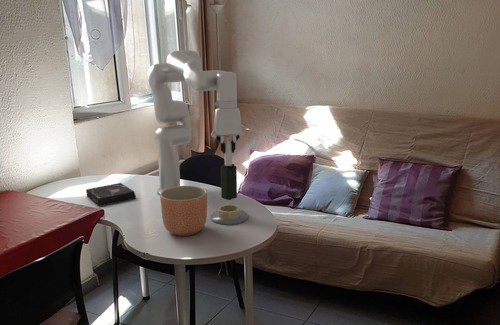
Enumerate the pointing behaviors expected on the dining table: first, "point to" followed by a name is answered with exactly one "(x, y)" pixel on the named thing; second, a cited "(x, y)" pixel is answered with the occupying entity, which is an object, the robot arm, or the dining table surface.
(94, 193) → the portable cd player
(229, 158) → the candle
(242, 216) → the candle holder
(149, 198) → the dining table surface
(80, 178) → the dining table surface
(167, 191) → the planter
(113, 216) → the dining table surface
